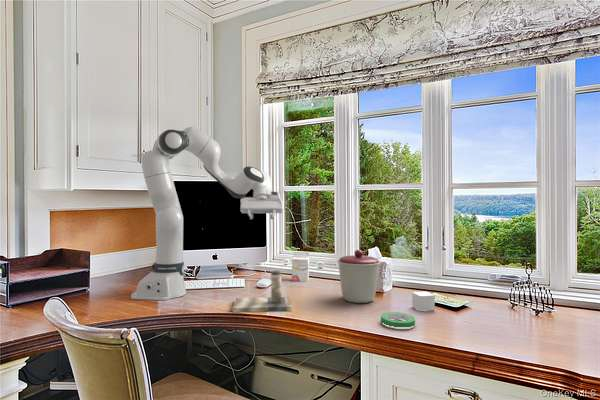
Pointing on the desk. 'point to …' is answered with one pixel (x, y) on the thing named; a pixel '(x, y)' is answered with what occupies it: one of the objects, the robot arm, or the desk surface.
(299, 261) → the ink cartridge box
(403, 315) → the tape roll
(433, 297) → the adhesive note
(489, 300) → the desk surface
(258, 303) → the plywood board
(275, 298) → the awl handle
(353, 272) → the canister
